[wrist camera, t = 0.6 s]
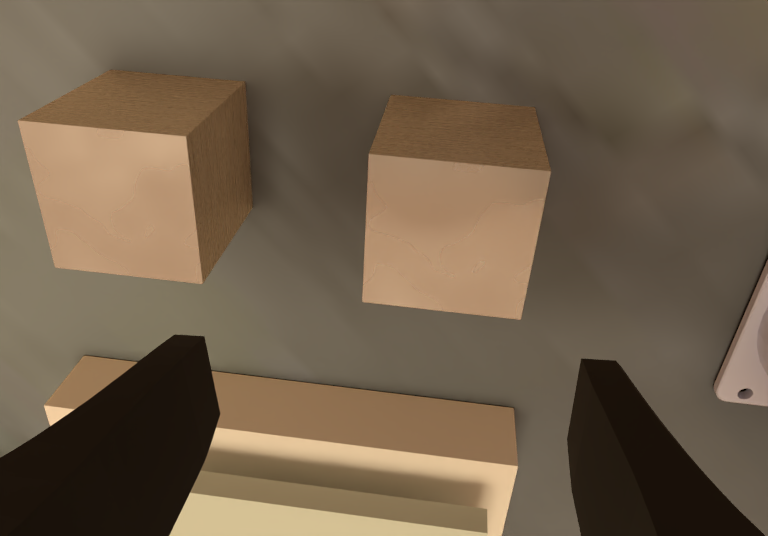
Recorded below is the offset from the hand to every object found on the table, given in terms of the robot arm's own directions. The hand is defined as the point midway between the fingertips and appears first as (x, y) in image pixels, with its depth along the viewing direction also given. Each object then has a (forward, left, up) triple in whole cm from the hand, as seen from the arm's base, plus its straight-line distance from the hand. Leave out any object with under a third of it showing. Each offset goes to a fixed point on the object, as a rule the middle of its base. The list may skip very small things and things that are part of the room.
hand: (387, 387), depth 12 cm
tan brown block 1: (+8, 0, -10) cm, 13 cm away
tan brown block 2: (-1, 0, -10) cm, 10 cm away
